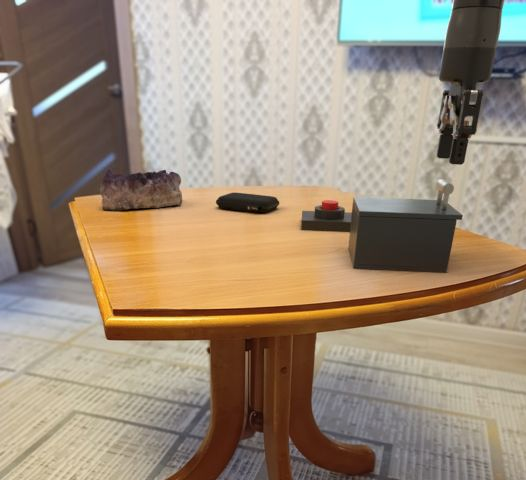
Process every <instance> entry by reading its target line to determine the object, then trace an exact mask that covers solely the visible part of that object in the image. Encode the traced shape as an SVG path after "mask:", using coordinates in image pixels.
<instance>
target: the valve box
mask: <svg viewBox="0 0 526 480" xmlns="http://www.w3.org/2000/svg"><path fill="white" fill-rule="evenodd" d="M351 213H352V216H351V226H350V232H349V238H348V248H347V249H348V252H349V256H350V259H351V264H352V267H353V269H354V270H356V269H357V270H358V269H359V270H379V271H399V272H400V271H401V272H422V273H442V274H443V273H445V274H446V273H448V268H449V264H450V263H449V262H450V258H451V252H452V247H453V242H454V237H455V232H456V227H457V221H458V220H449V219H423V218H397V217H371V216H359V214H358V212H357V210H356V207H355V205H354V202H353V201H352V208H351Z"/></svg>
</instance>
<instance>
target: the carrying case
mask: <svg viewBox="0 0 526 480" xmlns="http://www.w3.org/2000/svg"><path fill="white" fill-rule="evenodd" d="M215 204H216V205H217V206H218V208H219V209H223V210H229V211H230V210H231V211H239V212H245V213H255V214H266V213H269V212H271V211H273V210H275V209H277V208H278V206H279V205H280V200H278V198H277V197H275V196H271V195H263V194H253V193H245V192H244V193H243V192H230V193H226V194H223V195H220V196H219V197H218V198H217V199H216V200H215Z"/></svg>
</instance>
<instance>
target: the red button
mask: <svg viewBox="0 0 526 480" xmlns="http://www.w3.org/2000/svg"><path fill="white" fill-rule="evenodd" d="M321 205H322V209H325V210H338V206H339V201H338V200H333V199H332V200H331V199H326V200H322V201H321Z"/></svg>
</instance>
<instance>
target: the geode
mask: <svg viewBox="0 0 526 480" xmlns="http://www.w3.org/2000/svg"><path fill="white" fill-rule="evenodd" d="M101 180H102V181H101V184H100V189H99V193H100V195H101V198H102V199H101V207H102V211H111V212H112V211H113V212H117V211H118V212H121V211H128V210H137V209H152V208H153V209H154V208H157V209H159V208H165V207H173V206H176V205H182V203H183V192H182V190H181V189H180V186H181V184H182V177H181V176H180V174H179V173H177V172H176V171H175V172H174V171H170V172H169V173H168V172H167V170H166V169H162V170H159V171H147V172H144V173H142V172H140V171H139V172H135V173H130V174H127V175H123V174H120V173H114V172H113V171H112V170H111V169H107V171H106V172H105V175H104V176H103V178H102V179H101Z"/></svg>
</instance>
